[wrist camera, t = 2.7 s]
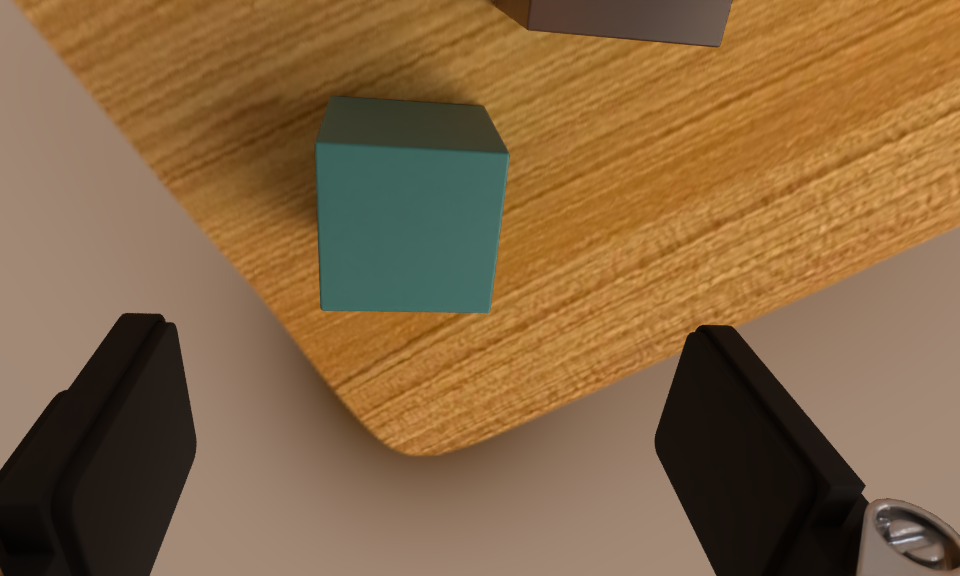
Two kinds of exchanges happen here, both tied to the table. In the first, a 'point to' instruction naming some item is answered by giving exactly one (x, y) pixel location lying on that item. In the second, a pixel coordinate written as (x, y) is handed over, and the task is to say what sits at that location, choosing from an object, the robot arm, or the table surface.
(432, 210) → the teal block
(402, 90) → the table surface
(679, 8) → the block
